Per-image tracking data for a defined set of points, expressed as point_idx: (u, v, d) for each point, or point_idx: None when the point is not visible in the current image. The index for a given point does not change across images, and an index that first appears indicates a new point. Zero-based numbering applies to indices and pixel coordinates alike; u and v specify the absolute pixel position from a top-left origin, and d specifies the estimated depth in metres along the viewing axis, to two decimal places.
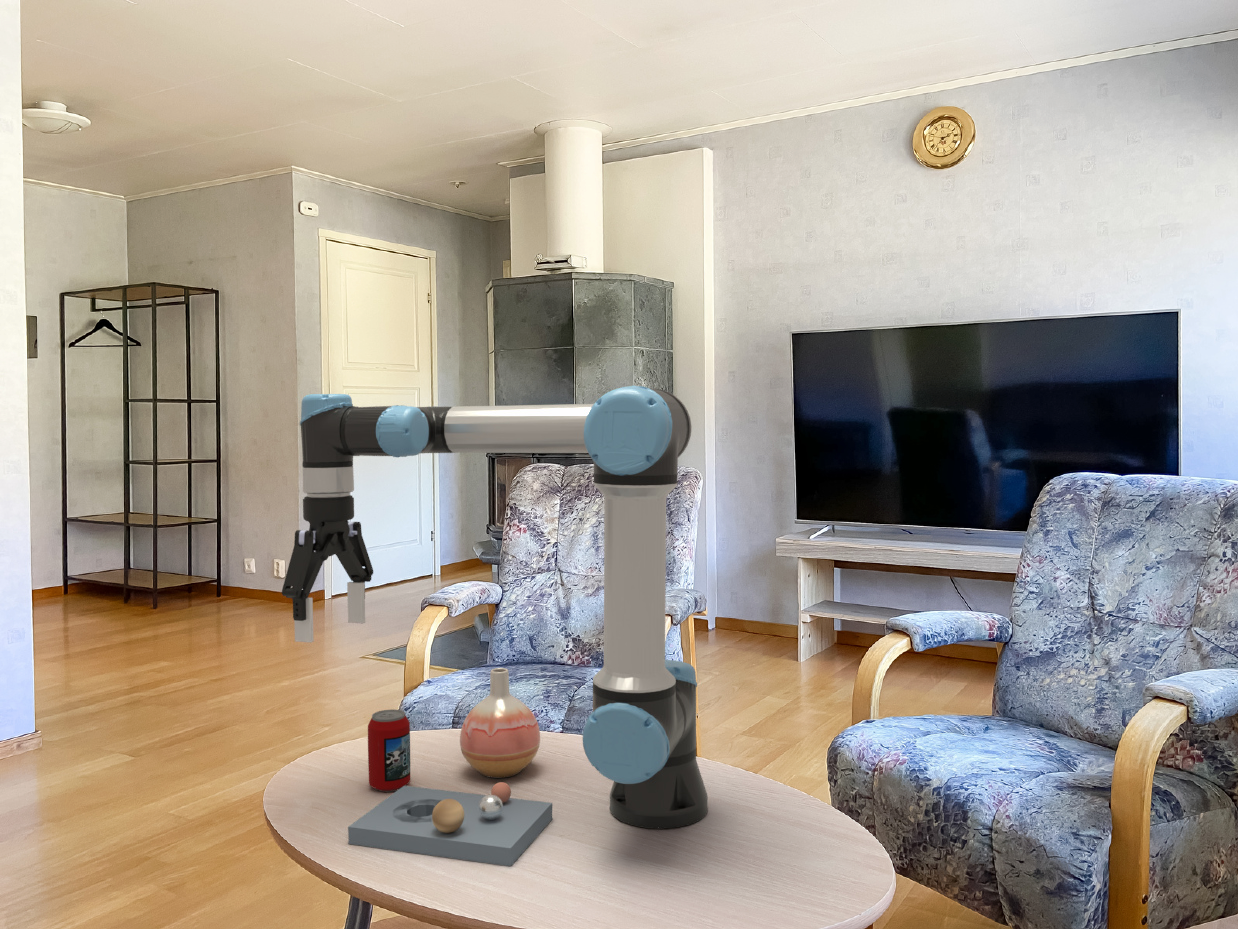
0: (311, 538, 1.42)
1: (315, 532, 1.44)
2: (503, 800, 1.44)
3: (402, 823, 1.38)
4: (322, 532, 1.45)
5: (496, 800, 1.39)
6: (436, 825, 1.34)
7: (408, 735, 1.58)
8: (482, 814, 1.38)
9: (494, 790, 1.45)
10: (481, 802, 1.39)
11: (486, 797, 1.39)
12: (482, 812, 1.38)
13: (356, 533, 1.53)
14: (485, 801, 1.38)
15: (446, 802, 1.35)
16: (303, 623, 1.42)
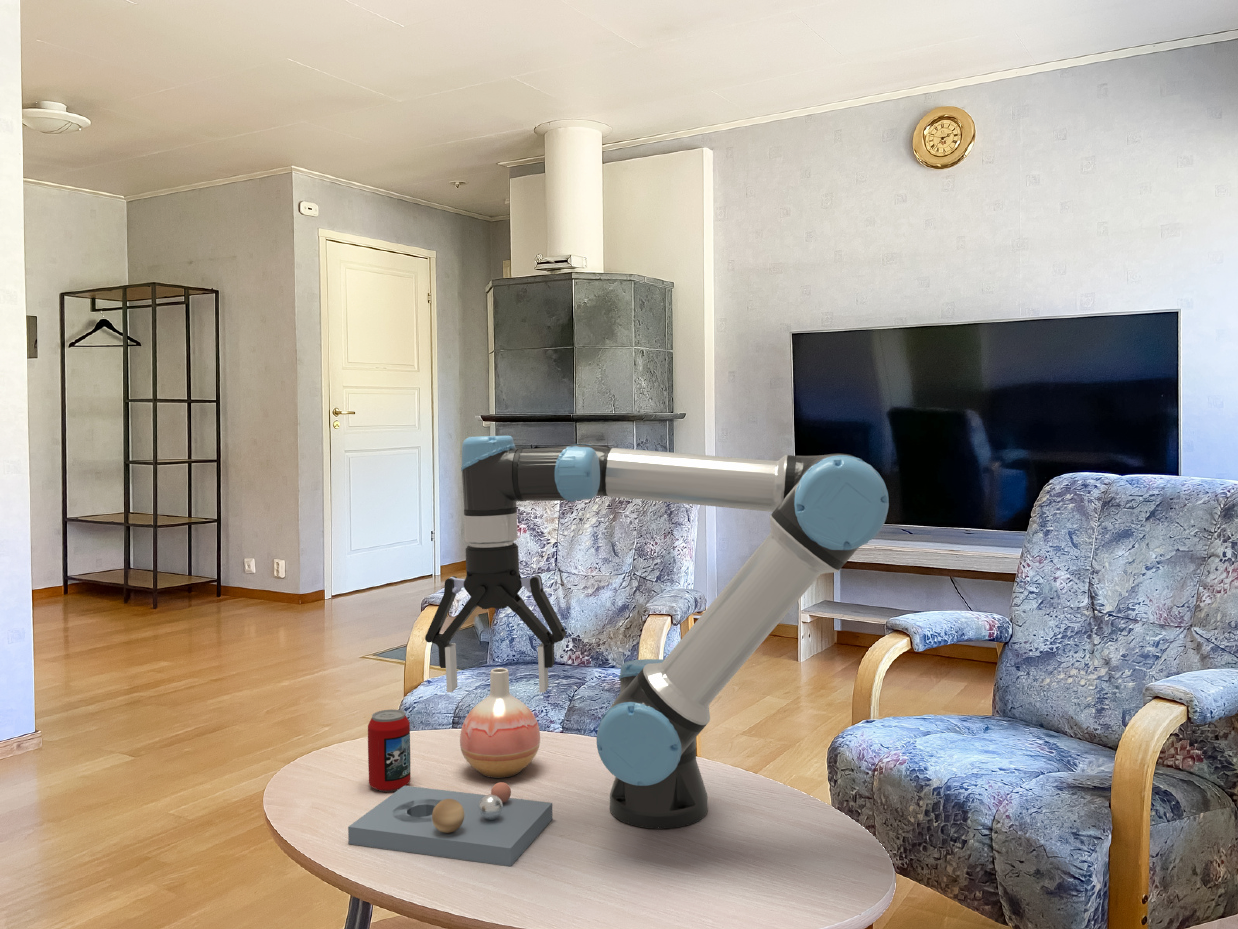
0: (449, 586, 1.38)
1: (463, 581, 1.38)
2: (503, 800, 1.44)
3: (402, 823, 1.38)
4: (469, 582, 1.38)
5: (496, 800, 1.39)
6: (436, 825, 1.34)
7: (408, 735, 1.58)
8: (482, 814, 1.38)
9: (494, 790, 1.45)
10: (481, 802, 1.39)
11: (486, 797, 1.39)
12: (482, 812, 1.38)
13: (529, 590, 1.36)
14: (485, 801, 1.38)
15: (446, 802, 1.35)
16: None
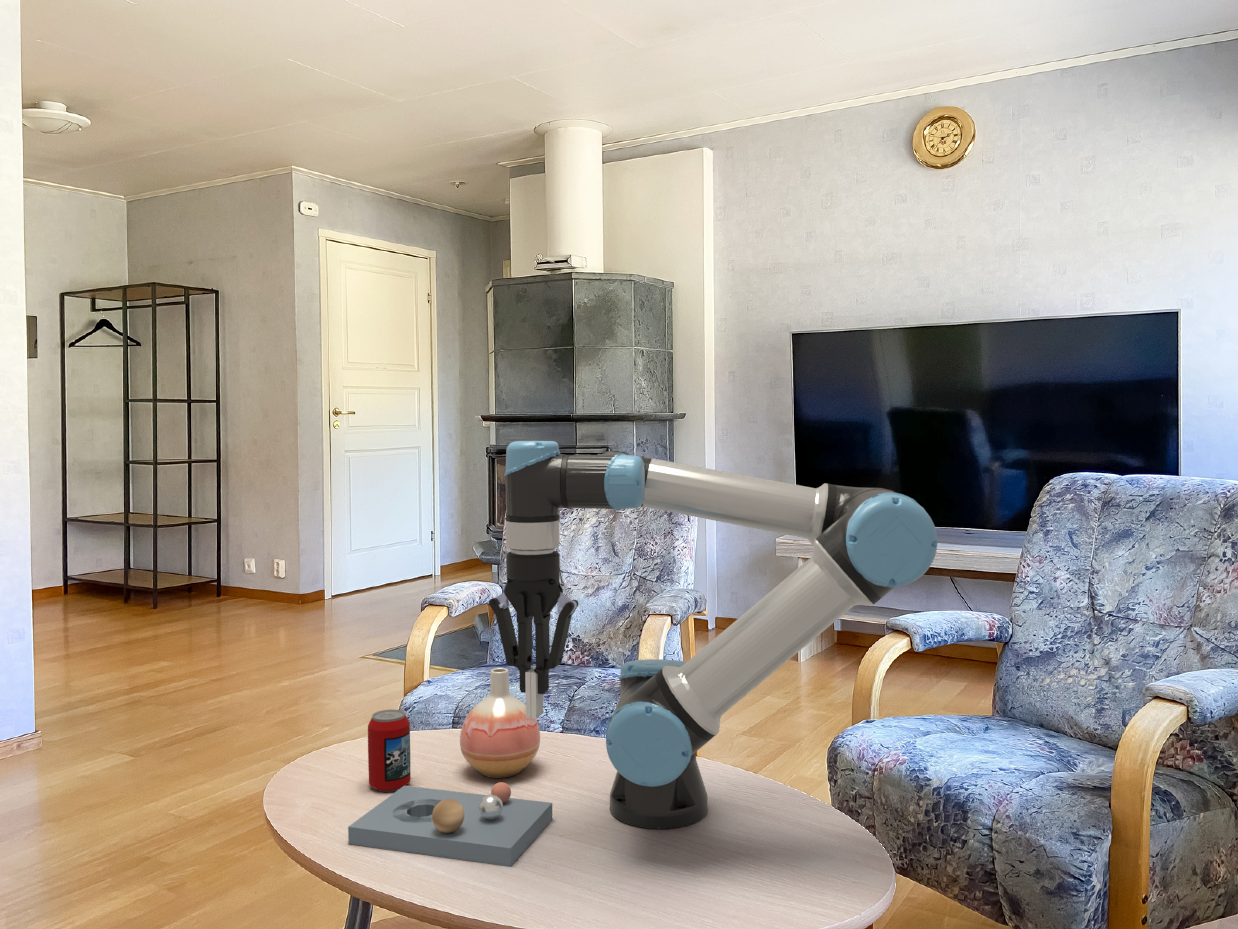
0: (495, 605, 1.36)
1: (504, 592, 1.37)
2: (503, 800, 1.44)
3: (402, 823, 1.38)
4: (507, 590, 1.36)
5: (496, 800, 1.39)
6: (436, 825, 1.34)
7: (408, 735, 1.58)
8: (482, 814, 1.38)
9: (494, 790, 1.45)
10: (481, 802, 1.39)
11: (486, 797, 1.39)
12: (482, 812, 1.38)
13: (560, 609, 1.34)
14: (485, 801, 1.38)
15: (446, 802, 1.35)
16: None
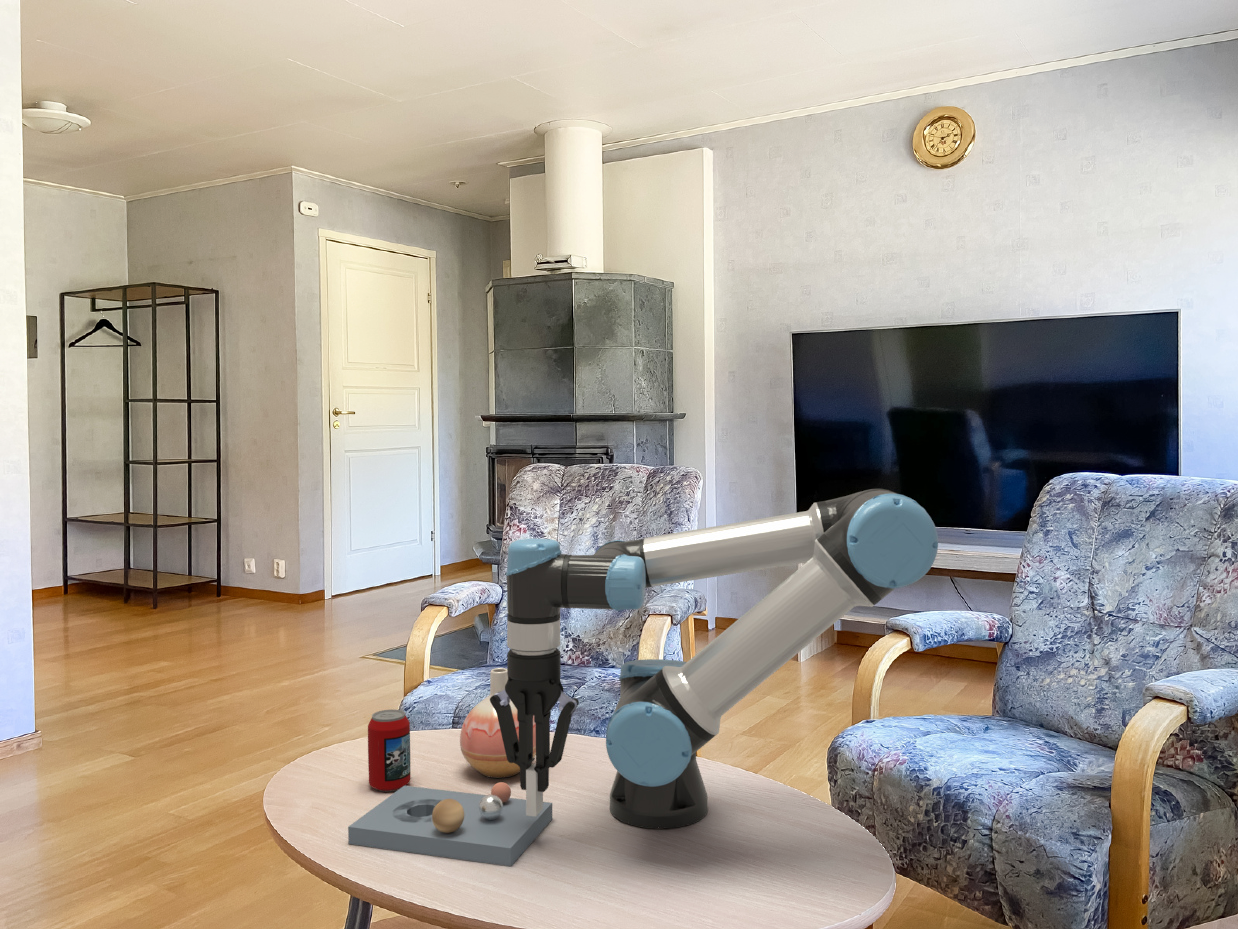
0: (496, 703, 1.37)
1: (505, 690, 1.37)
2: (503, 800, 1.44)
3: (402, 823, 1.38)
4: (508, 688, 1.37)
5: (496, 800, 1.39)
6: (436, 825, 1.34)
7: (408, 735, 1.58)
8: (482, 814, 1.38)
9: (494, 790, 1.45)
10: (481, 802, 1.39)
11: (486, 797, 1.39)
12: (482, 812, 1.38)
13: (560, 709, 1.34)
14: (485, 801, 1.38)
15: (446, 802, 1.35)
16: None
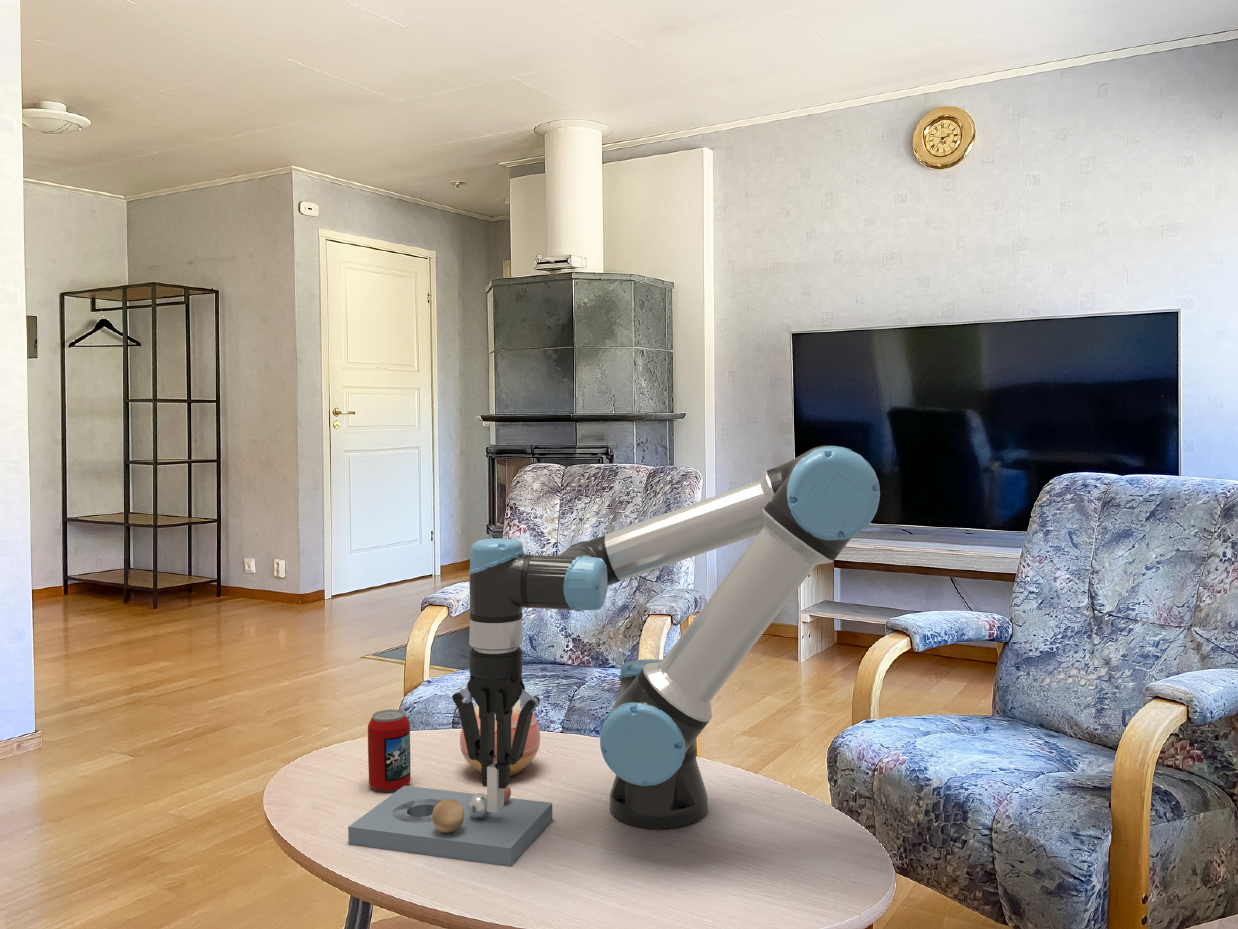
0: (458, 700, 1.39)
1: None
2: None
3: (402, 823, 1.38)
4: (470, 686, 1.38)
5: (476, 795, 1.40)
6: (436, 825, 1.34)
7: (408, 735, 1.58)
8: (475, 815, 1.39)
9: None
10: None
11: (468, 802, 1.40)
12: (473, 814, 1.39)
13: (521, 707, 1.36)
14: (469, 804, 1.39)
15: (446, 802, 1.35)
16: None
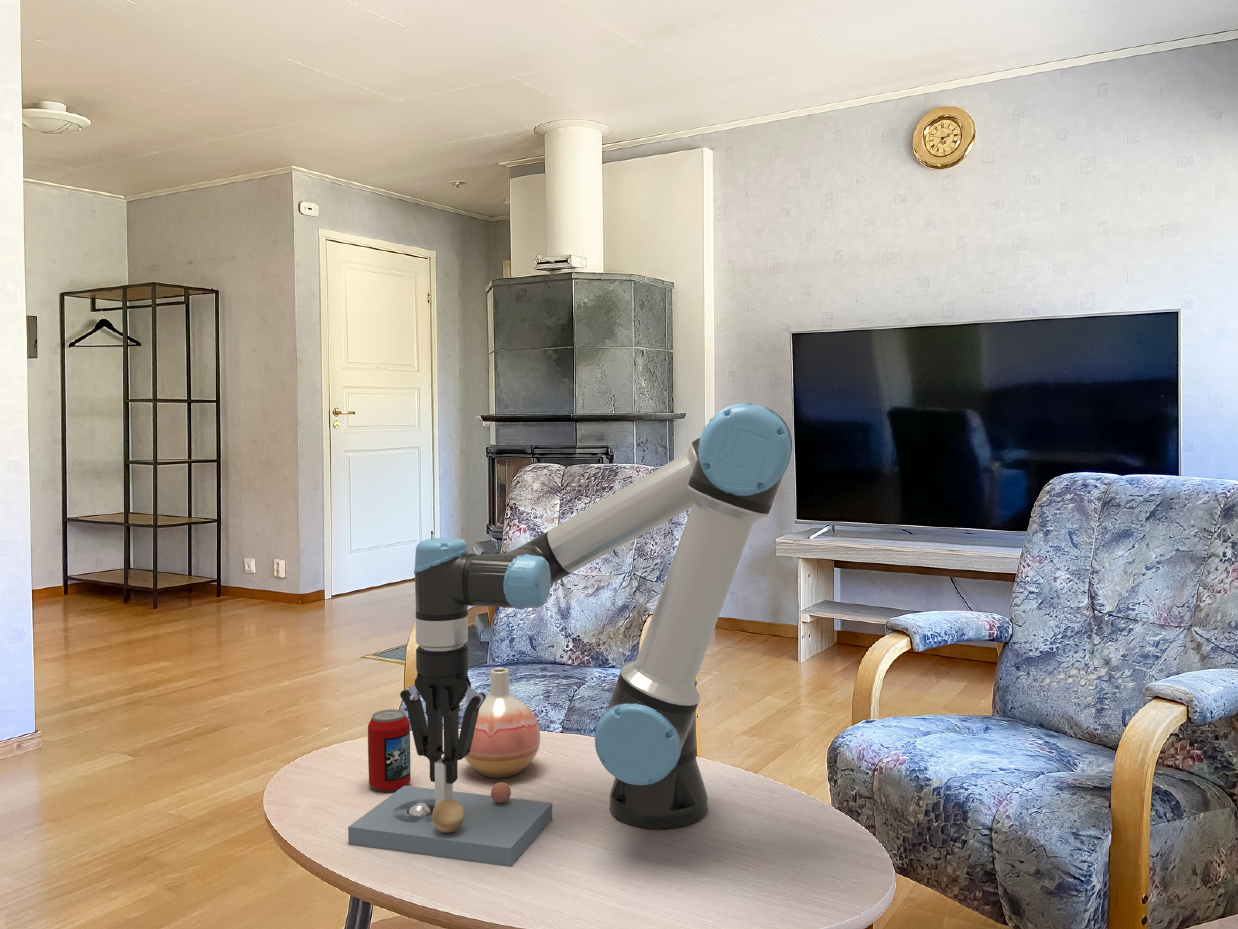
0: (406, 697, 1.41)
1: (415, 685, 1.42)
2: (503, 800, 1.44)
3: (402, 823, 1.38)
4: (417, 683, 1.41)
5: (412, 806, 1.43)
6: (436, 825, 1.34)
7: (408, 735, 1.58)
8: None
9: (494, 790, 1.45)
10: None
11: None
12: None
13: (466, 703, 1.39)
14: None
15: (446, 802, 1.35)
16: None
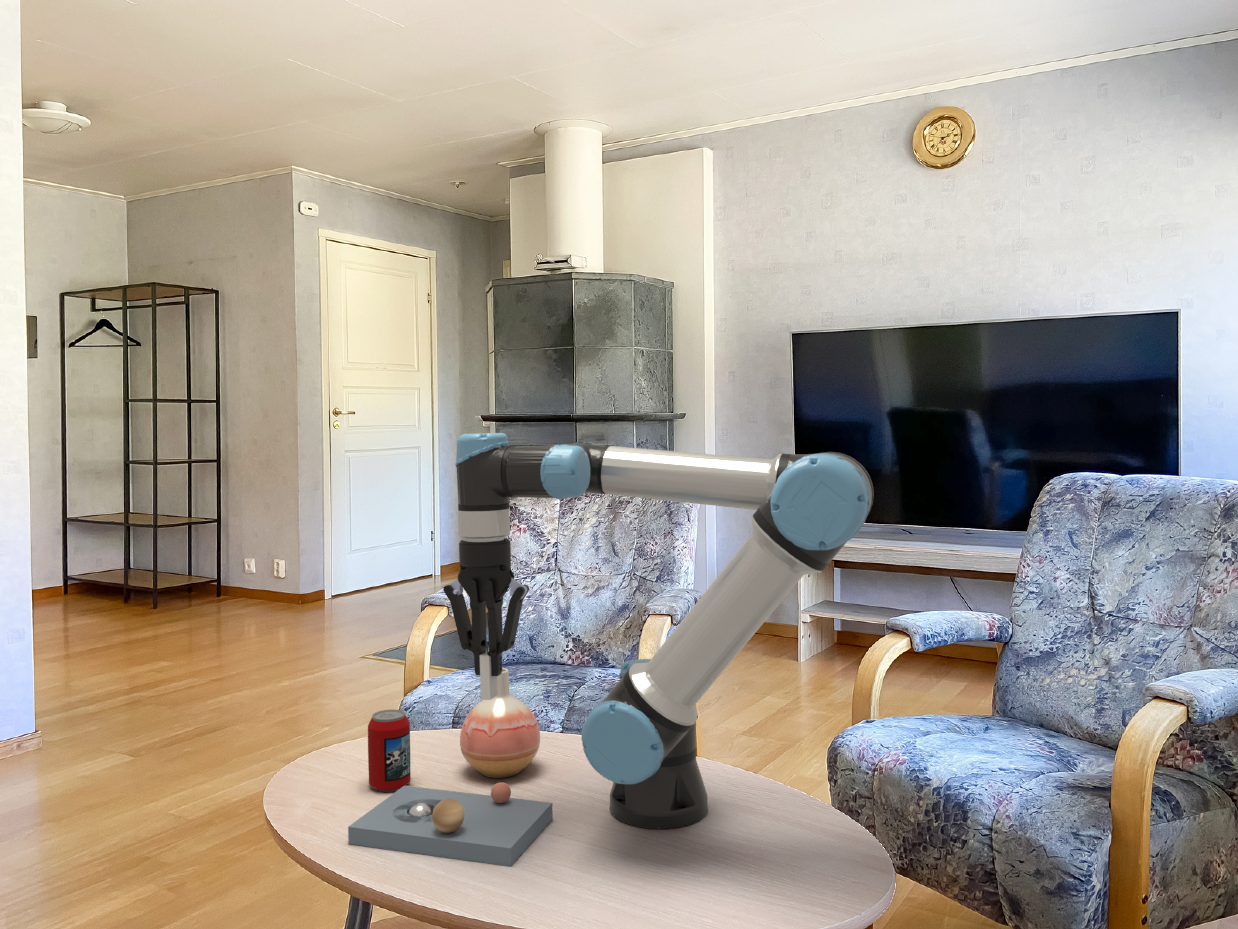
0: (449, 592, 1.42)
1: (458, 579, 1.42)
2: (503, 800, 1.44)
3: (402, 823, 1.38)
4: (461, 577, 1.41)
5: (412, 806, 1.43)
6: (436, 825, 1.34)
7: (408, 735, 1.58)
8: None
9: (494, 790, 1.45)
10: None
11: None
12: None
13: (511, 594, 1.39)
14: None
15: (446, 802, 1.35)
16: None
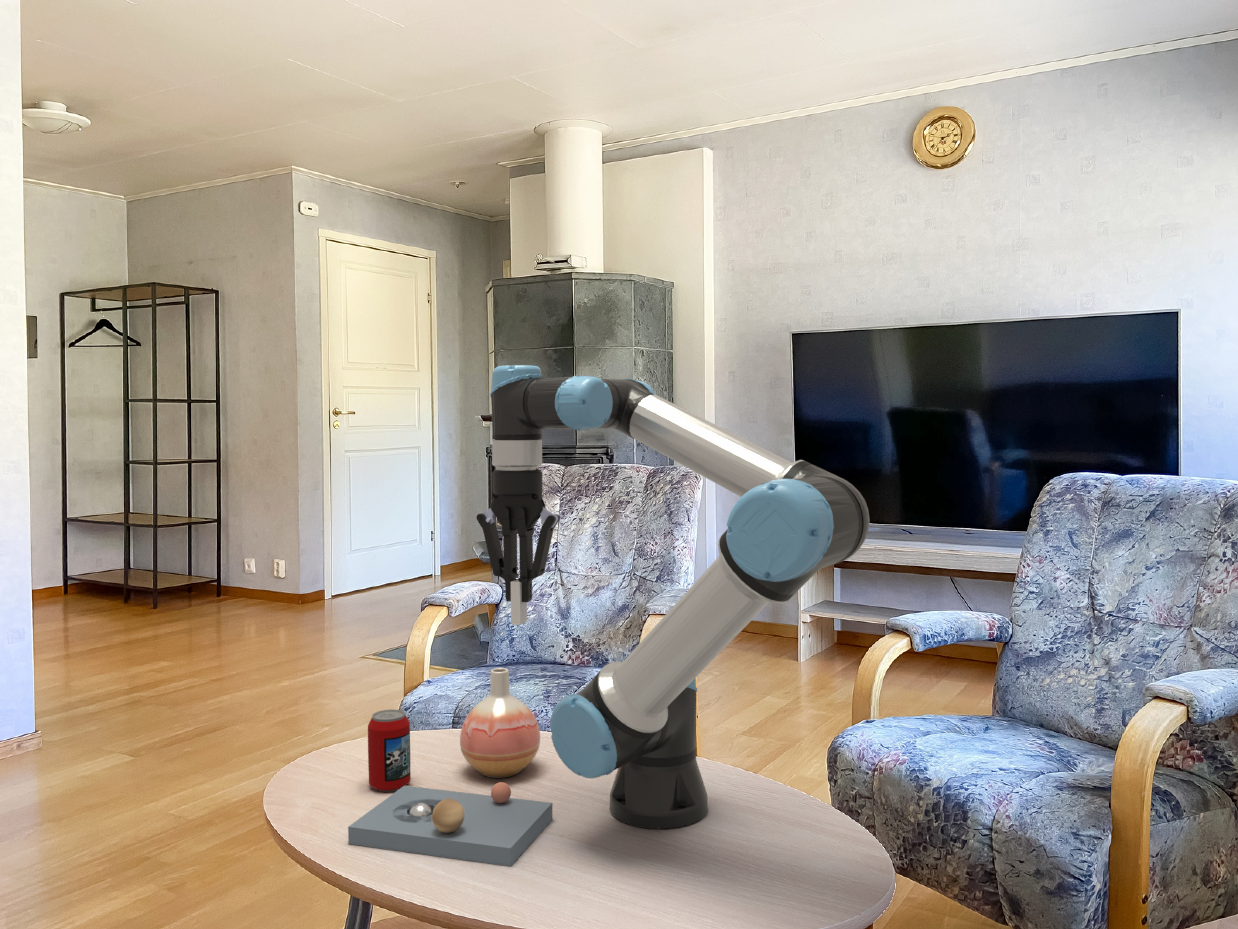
0: (482, 520, 1.46)
1: (490, 508, 1.47)
2: (503, 800, 1.44)
3: (402, 823, 1.38)
4: (493, 505, 1.46)
5: (413, 806, 1.43)
6: (436, 825, 1.34)
7: (408, 735, 1.58)
8: None
9: (494, 790, 1.45)
10: None
11: None
12: None
13: (542, 522, 1.44)
14: None
15: (446, 802, 1.35)
16: None
